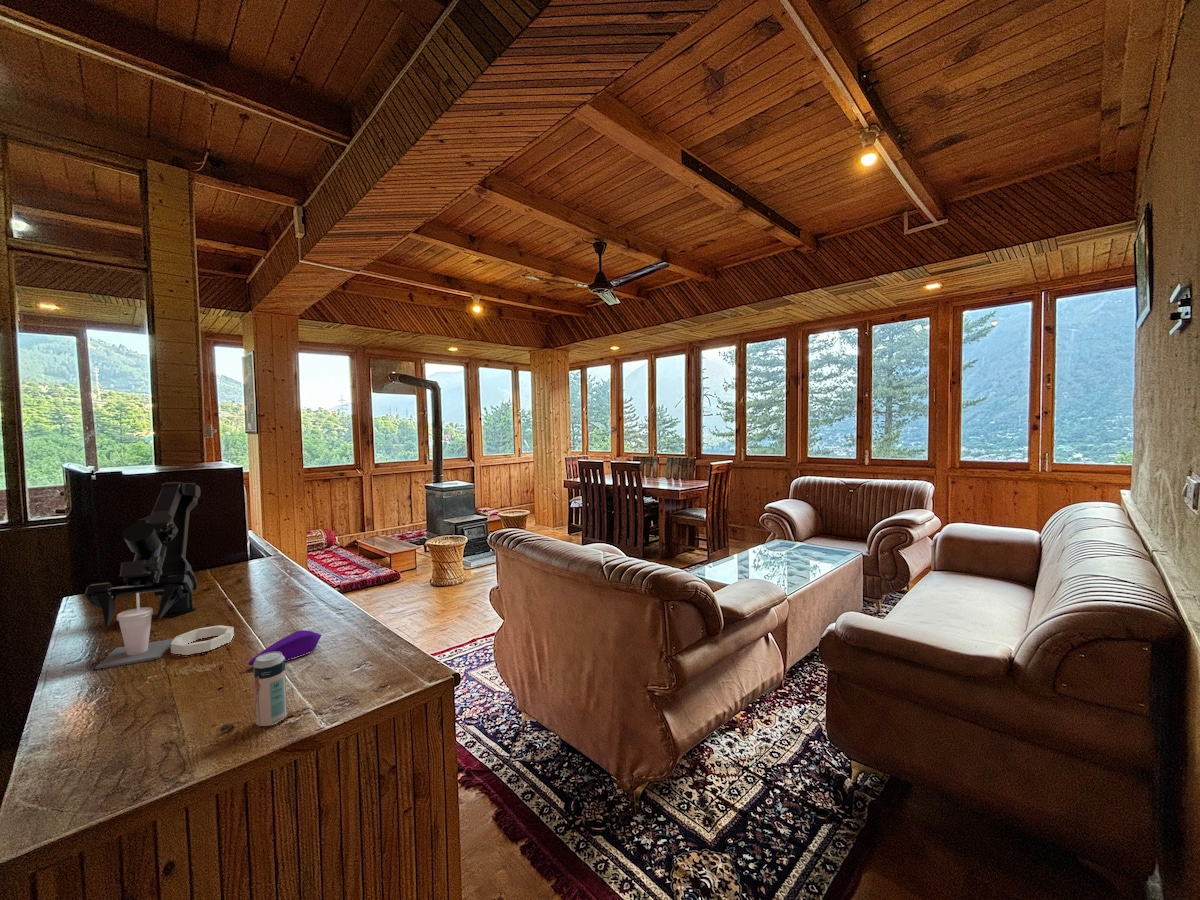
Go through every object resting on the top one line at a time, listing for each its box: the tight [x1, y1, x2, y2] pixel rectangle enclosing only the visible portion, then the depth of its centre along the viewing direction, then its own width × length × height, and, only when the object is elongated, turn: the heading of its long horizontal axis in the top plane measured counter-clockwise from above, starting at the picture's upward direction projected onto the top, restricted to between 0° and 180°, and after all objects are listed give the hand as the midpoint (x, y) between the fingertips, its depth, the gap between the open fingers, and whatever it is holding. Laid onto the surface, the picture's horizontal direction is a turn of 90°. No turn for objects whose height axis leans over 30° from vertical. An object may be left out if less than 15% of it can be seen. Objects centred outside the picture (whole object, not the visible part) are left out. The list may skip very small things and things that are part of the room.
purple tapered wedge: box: [247, 629, 322, 666], centre depth 114 cm, size 5×5×15 cm
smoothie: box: [116, 593, 154, 655], centre depth 116 cm, size 6×6×14 cm
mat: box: [94, 638, 175, 670], centre depth 117 cm, size 11×11×1 cm
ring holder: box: [170, 624, 235, 655], centre depth 121 cm, size 12×12×2 cm
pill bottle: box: [252, 651, 288, 727], centre depth 89 cm, size 5×5×12 cm
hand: (133, 621), depth 115 cm, fingers open, 9 cm apart
